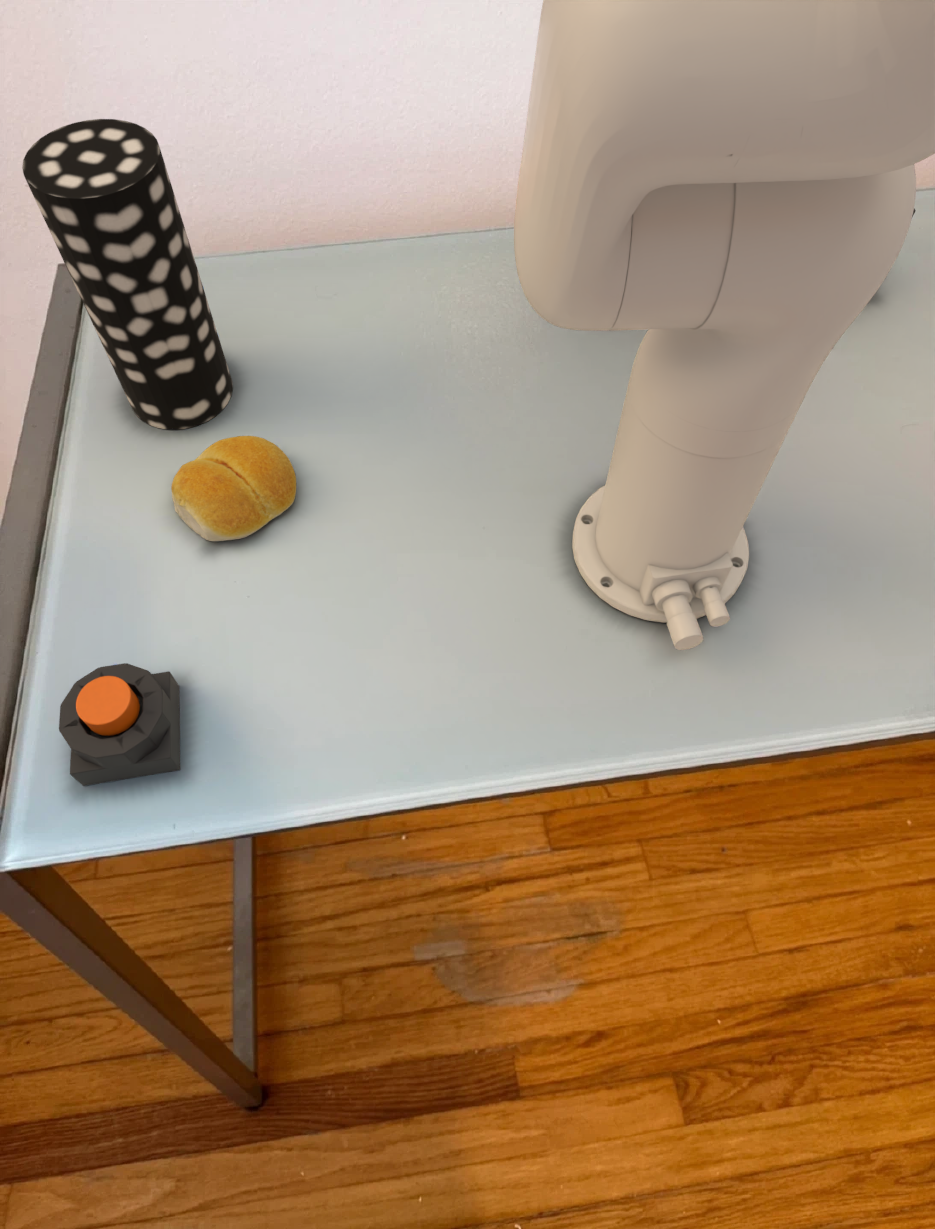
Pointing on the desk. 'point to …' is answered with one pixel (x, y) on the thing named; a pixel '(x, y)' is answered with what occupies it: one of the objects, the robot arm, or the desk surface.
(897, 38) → the robot arm
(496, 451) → the desk surface
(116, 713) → the button
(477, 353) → the desk surface
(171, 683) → the control block
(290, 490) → the bread roll
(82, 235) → the spotted tube
